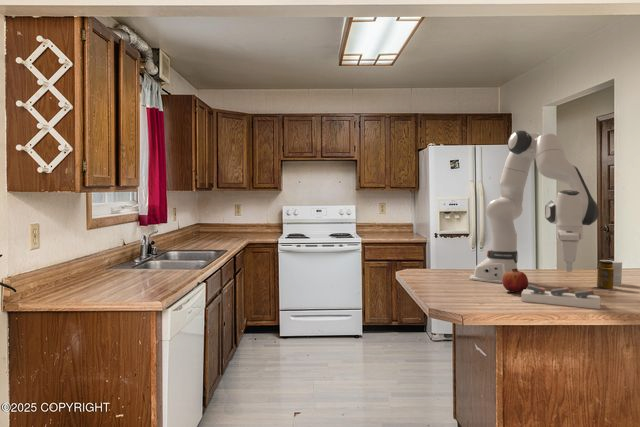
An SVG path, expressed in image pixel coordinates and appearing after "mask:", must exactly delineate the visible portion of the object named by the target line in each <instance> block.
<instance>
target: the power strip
mask: <svg viewBox="0 0 640 427" xmlns="http://www.w3.org/2000/svg"><path fill="white" fill-rule="evenodd" d="M520 293H521V294H520V297H521V298H520V300H521V302H527V303H535V304H536V303H537V304H545V305H546V304H547V305H557V306H567V307H578V308H587V309H597V310H600V309H601V298H600V295H595V294H594V295H586V296H575V293H571V292H569V293H559V294H551V291H547V290H545V293H540V292H537V291H533V290H530V289H524V290H523V291H522V292H520Z"/></svg>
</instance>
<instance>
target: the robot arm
mask: <svg viewBox="0 0 640 427" xmlns="http://www.w3.org/2000/svg"><path fill="white" fill-rule="evenodd" d="M507 148H508V151H509V153H508V155H507V157H506V160H505V161H504V162H505V163H504V165H503V170H502V173H501V176H500V180H499V189H500V190H499V198H495V199H493V200H491V201H490V202H488V204H487V206H486V215H487V216H488V219H489V225H490V230H491V249H489V250H487V252H486V253H487V254H486V256H487V257H486V258H485V259H483V260H482V261H481V262H479V263H478V264H476V265H475V268H474V272H473V274H470V275H469V279H470V280H471V281H477V282H480V281H481V282H487V283H495V284H496V283H497V284H503V282H502V278H503V276H504V274H505V273H506V272H509V271H512V269H518V260H519V253H518V250H517V248H518V247H517V246H518V245H517V243H518V242H517V240H518V239H517V238H518V234H517V232H516V229H515V224H514V221H516V220H517V219H518V218H520V216H521V215H522V213H523V202H524V201H523V200H524V192H525V191H524V190H525V187H526V183H527V180H528V176H529V172H530V168H531V164H532V162H533V161H534V160H535V165H536V167H537V170H538V172H539V174H541V175H542V176H543V177H546V178H547V179H551V180H556V181H559V182H562V183H564V184H567V185H568V186H569V187H570V188H571V190H570V189H569V190H567V189H566V190H559V191H558V192H557V195H556V198H555V199H553V200H550V201H548V202H547V204H546V205H545V207H544V209H545V210H544V215H545V216H544V218H545V219H546V220H547V221H548V222H549V223H550V224H554V225H556V226H555V239H557V240H559V244H561V252H562V257H563V262H565V265H566V266H565V267H566V272H569V273H572V271H573V263H574V262H575V261H576V258H577V250H578V244H580V240H583V239H584V226H590V225H592V224H594V223H595V222H596V221H597V220H598V219H599V216H600V208H599V205H598V204H597V202H596V201H595V200H594V198H593V197H592V195H591V193H590V191H589V188H588V186H587V184H586V182H585V180H584V178H583V175H582V174H581V172H580V170H579V169H578V167H577V166H575V165H573V164H572V163H571V162H570V161H569V160H568V158H567V157H566V155H565V151H564V147H563V146H562V143H561V141H560V139H559V137H558V136H557V135H556V134H554V133H552V132H550V133H549V132H546V133H540V132H533V131H526V130H516V131H514V132H512V133H511V134H510V136H509V137H508V140H507Z"/></svg>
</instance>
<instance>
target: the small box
mask: <svg viewBox="0 0 640 427" xmlns="http://www.w3.org/2000/svg"><path fill="white" fill-rule="evenodd" d="M599 261H612V262H613V268H614V275H613V277H614V278H613V287H614V286H615V287H617V286H622V278H623V277H622V276H623V262H619V261H614V260H610V259H609V260H608V259H600V260H599ZM599 261H598V262H599Z"/></svg>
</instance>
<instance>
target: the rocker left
mask: <svg viewBox="0 0 640 427" xmlns="http://www.w3.org/2000/svg"><path fill="white" fill-rule="evenodd" d="M526 290H533V291H537V292H540V293H545V291H546V288H545V287H542V286H541V287H540V286H537V285H534V284H529V283H528V287H527V289H526Z"/></svg>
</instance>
